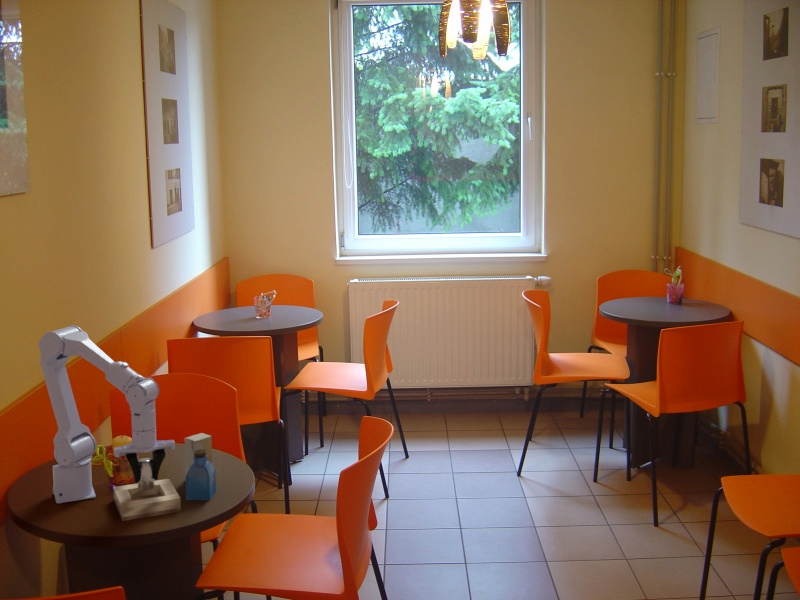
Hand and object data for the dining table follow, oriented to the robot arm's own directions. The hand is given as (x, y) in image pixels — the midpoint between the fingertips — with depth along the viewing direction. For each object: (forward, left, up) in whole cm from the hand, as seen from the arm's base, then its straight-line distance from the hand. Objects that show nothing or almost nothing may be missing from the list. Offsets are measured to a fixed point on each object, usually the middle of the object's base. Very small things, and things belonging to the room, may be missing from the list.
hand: (146, 479), depth 214 cm
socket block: (0, 0, -7) cm, 7 cm away
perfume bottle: (+14, +1, -7) cm, 16 cm away
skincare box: (+16, +12, -7) cm, 21 cm away
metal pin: (0, 0, -2) cm, 2 cm away
